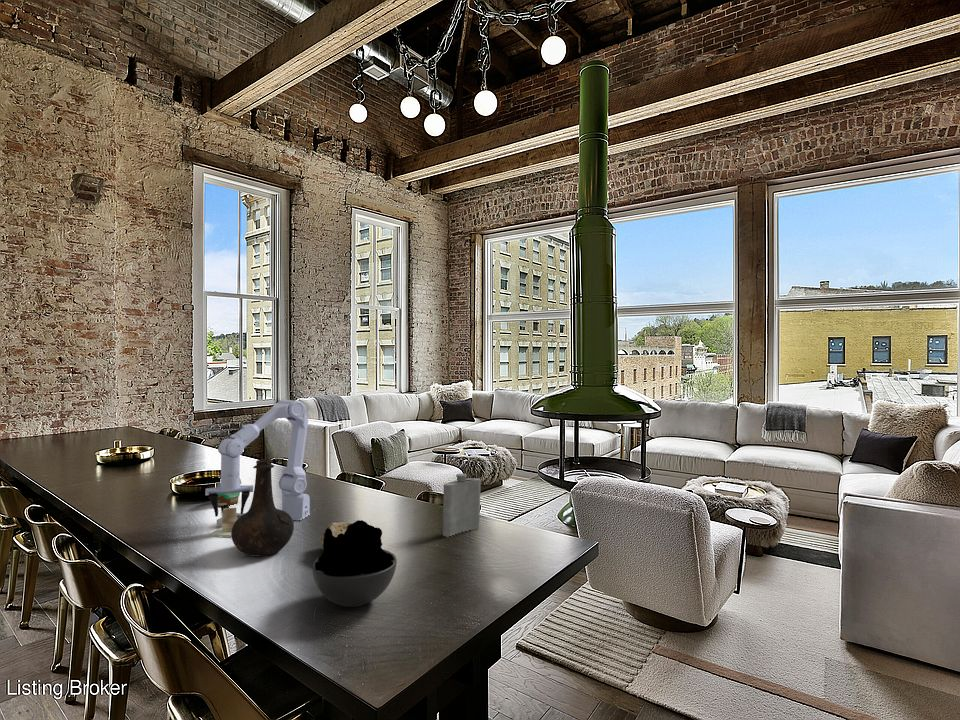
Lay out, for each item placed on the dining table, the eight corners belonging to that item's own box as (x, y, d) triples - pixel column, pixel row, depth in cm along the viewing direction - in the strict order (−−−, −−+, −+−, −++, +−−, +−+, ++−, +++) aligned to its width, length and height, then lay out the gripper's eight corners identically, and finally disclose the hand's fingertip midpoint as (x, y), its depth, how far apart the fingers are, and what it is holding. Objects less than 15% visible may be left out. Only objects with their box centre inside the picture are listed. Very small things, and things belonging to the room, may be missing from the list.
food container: (231, 508, 202) (232, 483, 202) (216, 508, 202) (216, 483, 202) (246, 500, 214) (247, 476, 214) (232, 500, 214) (232, 476, 214)
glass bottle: (271, 564, 147) (273, 467, 147) (216, 559, 151) (219, 463, 151) (304, 543, 164) (306, 456, 165) (255, 539, 168) (257, 453, 168)
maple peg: (236, 527, 176) (236, 507, 176) (235, 531, 173) (235, 510, 173) (223, 529, 175) (223, 508, 175) (222, 532, 171) (222, 511, 171)
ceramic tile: (248, 530, 177) (248, 527, 177) (234, 537, 169) (234, 535, 169) (223, 528, 178) (223, 526, 178) (209, 536, 170) (209, 533, 170)
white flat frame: (267, 521, 186) (267, 514, 186) (253, 529, 178) (254, 522, 178) (231, 519, 188) (232, 512, 188) (216, 527, 179) (216, 519, 179)
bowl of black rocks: (400, 584, 135) (401, 513, 135) (389, 623, 115) (391, 539, 115) (324, 584, 134) (325, 512, 135) (299, 623, 114) (301, 538, 115)
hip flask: (446, 537, 172) (447, 478, 173) (439, 534, 175) (440, 476, 176) (481, 528, 183) (482, 472, 183) (473, 525, 186) (474, 470, 186)
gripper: (253, 470, 180) (253, 509, 180) (207, 473, 174) (206, 513, 174) (253, 474, 173) (252, 515, 173) (205, 477, 168) (204, 519, 168)
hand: (229, 514), depth 173 cm, fingers open, 7 cm apart
